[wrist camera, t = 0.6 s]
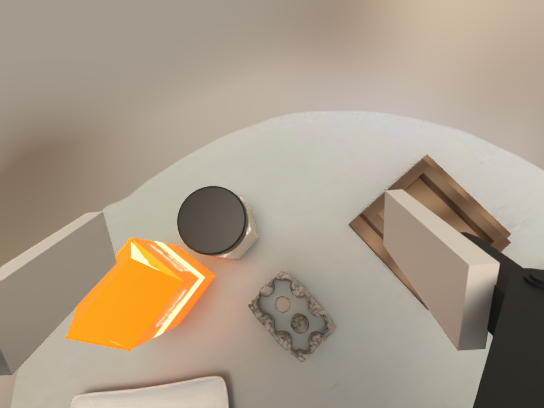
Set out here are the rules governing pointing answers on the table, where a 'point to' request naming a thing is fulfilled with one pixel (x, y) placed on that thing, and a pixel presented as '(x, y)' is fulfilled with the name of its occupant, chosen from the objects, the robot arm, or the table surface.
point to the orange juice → (140, 296)
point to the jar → (217, 223)
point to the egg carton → (298, 320)
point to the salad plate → (161, 396)
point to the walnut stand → (441, 201)
